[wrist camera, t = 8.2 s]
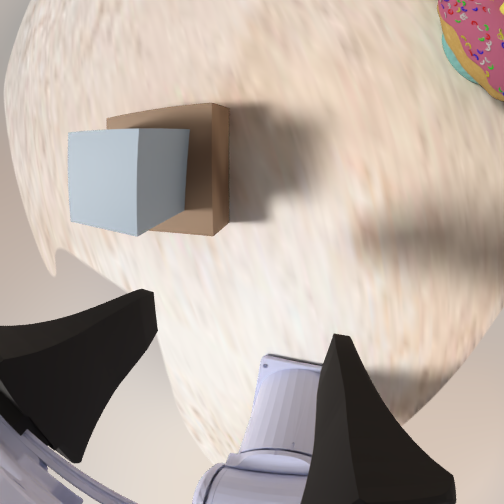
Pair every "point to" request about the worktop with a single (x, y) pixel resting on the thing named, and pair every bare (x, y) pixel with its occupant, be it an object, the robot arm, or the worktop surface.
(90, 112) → the worktop surface
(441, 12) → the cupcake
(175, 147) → the blue cube
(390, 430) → the robot arm
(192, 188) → the walnut base
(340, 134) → the worktop surface
